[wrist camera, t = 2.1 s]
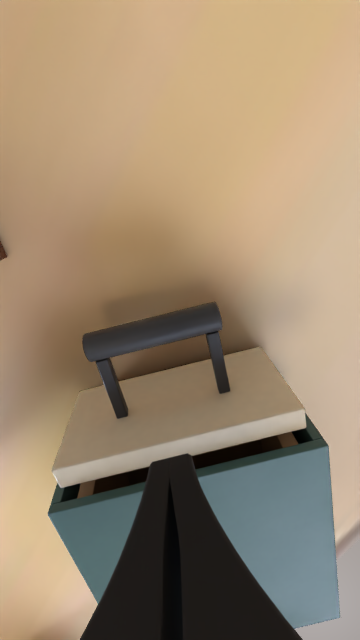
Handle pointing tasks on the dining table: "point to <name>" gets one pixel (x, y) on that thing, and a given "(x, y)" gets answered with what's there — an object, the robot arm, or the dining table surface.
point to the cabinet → (233, 525)
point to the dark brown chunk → (2, 252)
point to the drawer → (173, 406)
